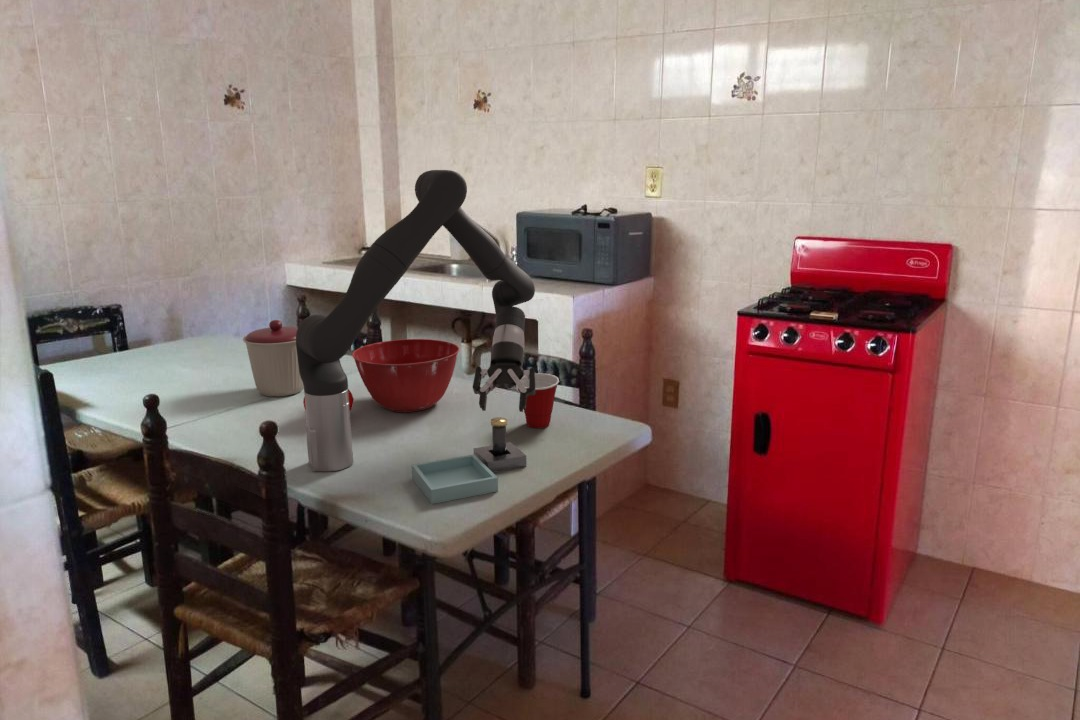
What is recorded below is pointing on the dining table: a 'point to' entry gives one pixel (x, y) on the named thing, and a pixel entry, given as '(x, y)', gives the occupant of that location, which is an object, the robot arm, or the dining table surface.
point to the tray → (454, 478)
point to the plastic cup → (540, 400)
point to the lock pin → (499, 435)
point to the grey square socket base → (501, 458)
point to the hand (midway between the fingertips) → (502, 409)
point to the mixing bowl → (407, 372)
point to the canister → (274, 360)
